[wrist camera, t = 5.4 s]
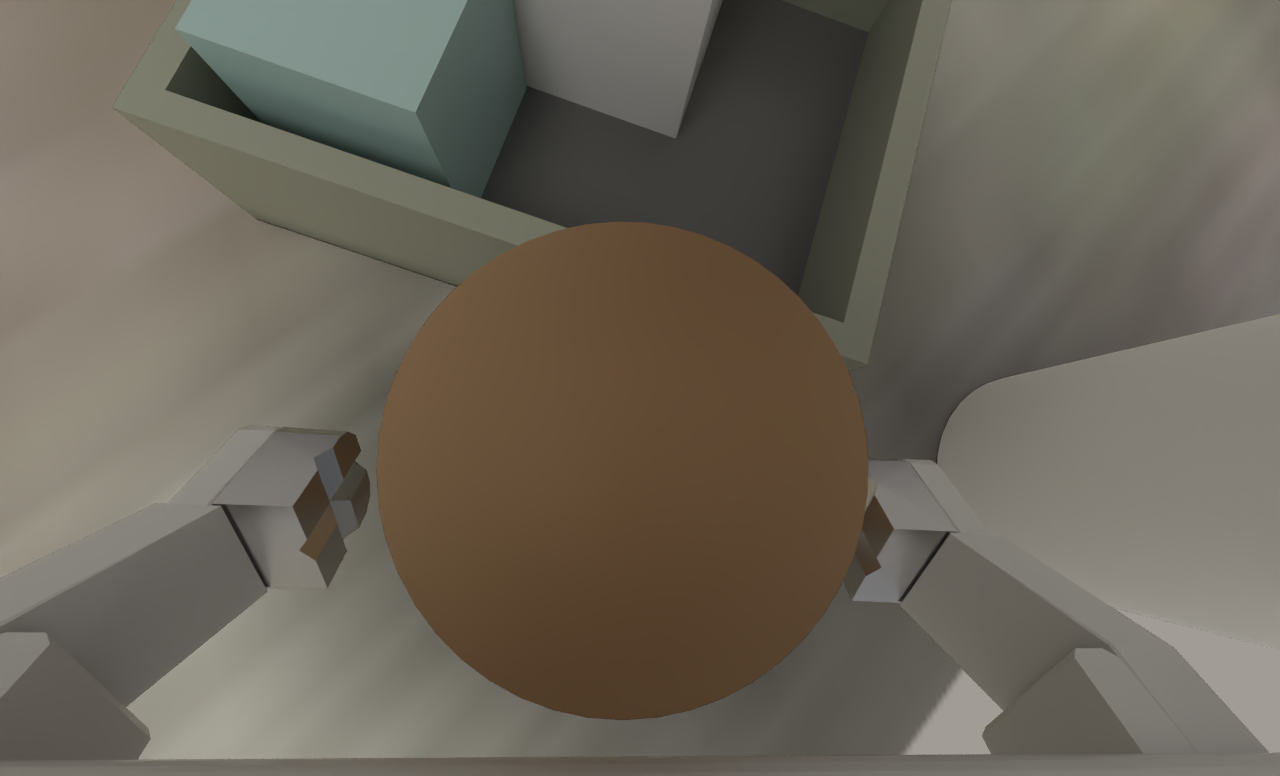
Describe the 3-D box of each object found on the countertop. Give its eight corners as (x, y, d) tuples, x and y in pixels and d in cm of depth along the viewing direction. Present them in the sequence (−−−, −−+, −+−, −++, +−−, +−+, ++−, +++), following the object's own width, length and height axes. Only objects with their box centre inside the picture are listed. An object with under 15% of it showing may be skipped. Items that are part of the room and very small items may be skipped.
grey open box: (257, 219, 16) (10, 28, 9) (431, -121, 19) (341, -462, 12) (785, 396, 17) (922, 342, 10) (877, 45, 20) (1033, -185, 13)
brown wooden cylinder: (535, 501, 15) (287, 631, 3) (566, 409, 16) (485, 159, 3) (627, 531, 16) (805, 786, 3) (655, 438, 16) (909, 307, 3)
